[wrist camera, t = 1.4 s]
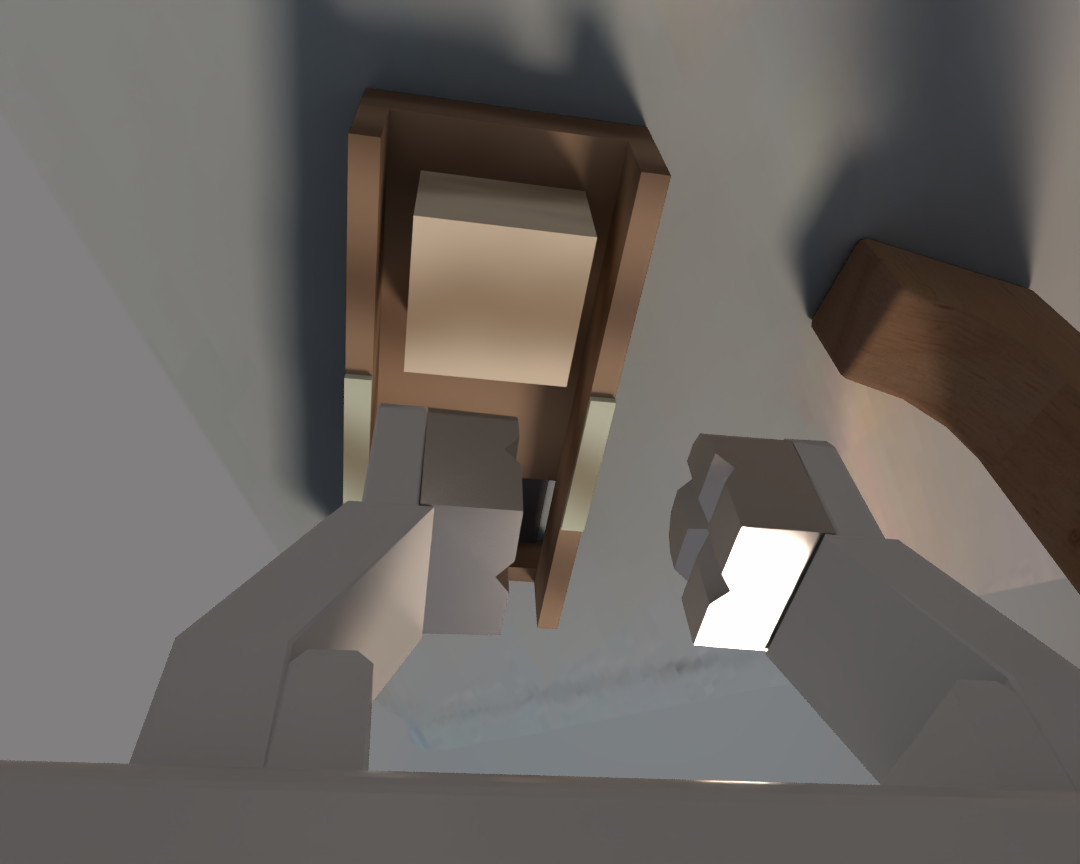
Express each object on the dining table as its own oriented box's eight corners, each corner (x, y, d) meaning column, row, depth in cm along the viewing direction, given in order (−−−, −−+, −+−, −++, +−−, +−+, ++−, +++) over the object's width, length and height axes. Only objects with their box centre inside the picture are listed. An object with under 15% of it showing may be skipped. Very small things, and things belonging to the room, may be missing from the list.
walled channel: (366, 88, 30) (346, 136, 26) (647, 127, 31) (672, 179, 27) (355, 542, 43) (341, 622, 39) (550, 555, 45) (557, 633, 41)
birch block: (420, 170, 30) (413, 215, 26) (585, 191, 30) (597, 237, 27) (411, 316, 33) (403, 371, 30) (558, 331, 34) (566, 386, 31)
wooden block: (805, 323, 37) (1008, 658, 23) (858, 232, 34) (1126, 544, 20) (972, 370, 39) (1255, 704, 25) (1034, 288, 36) (1389, 607, 22)
